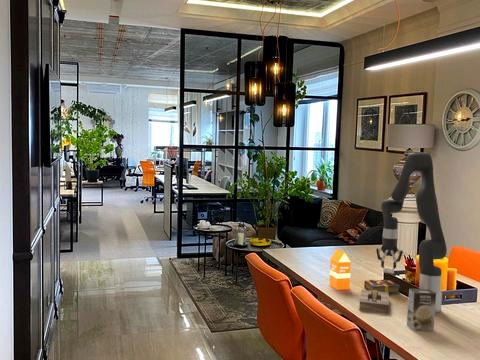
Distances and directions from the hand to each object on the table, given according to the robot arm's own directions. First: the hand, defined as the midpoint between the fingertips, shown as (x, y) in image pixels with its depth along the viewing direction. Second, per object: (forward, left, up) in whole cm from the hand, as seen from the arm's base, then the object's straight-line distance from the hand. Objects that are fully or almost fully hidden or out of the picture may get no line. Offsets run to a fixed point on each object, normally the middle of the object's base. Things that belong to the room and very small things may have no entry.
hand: (388, 268), depth 253 cm
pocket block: (-11, +29, -11) cm, 33 cm away
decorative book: (0, +5, -12) cm, 13 cm away
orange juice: (+18, +18, -11) cm, 28 cm away
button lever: (-9, +27, -10) cm, 30 cm away
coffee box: (-39, +39, -11) cm, 56 cm away
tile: (-2, +3, -1) cm, 3 cm away
